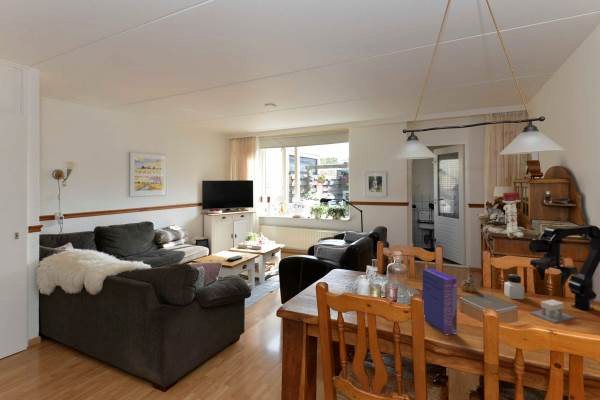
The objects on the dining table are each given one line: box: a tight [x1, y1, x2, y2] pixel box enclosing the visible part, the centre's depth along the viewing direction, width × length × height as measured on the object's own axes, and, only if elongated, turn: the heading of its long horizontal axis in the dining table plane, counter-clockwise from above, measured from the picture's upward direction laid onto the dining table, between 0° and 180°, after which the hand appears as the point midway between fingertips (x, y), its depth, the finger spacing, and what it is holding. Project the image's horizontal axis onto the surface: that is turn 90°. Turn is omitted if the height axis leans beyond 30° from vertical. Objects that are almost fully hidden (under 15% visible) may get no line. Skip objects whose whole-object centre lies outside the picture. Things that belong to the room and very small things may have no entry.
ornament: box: [460, 274, 478, 294], centre depth 185 cm, size 8×6×10 cm
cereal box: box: [422, 267, 458, 335], centre depth 141 cm, size 17×5×24 cm, turn 12°
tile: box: [529, 309, 576, 324], centre depth 150 cm, size 14×11×1 cm
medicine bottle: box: [503, 274, 525, 300], centre depth 175 cm, size 7×7×12 cm
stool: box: [540, 299, 565, 318], centre depth 150 cm, size 5×8×6 cm, turn 109°
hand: (552, 283), depth 158 cm, fingers open, 9 cm apart
